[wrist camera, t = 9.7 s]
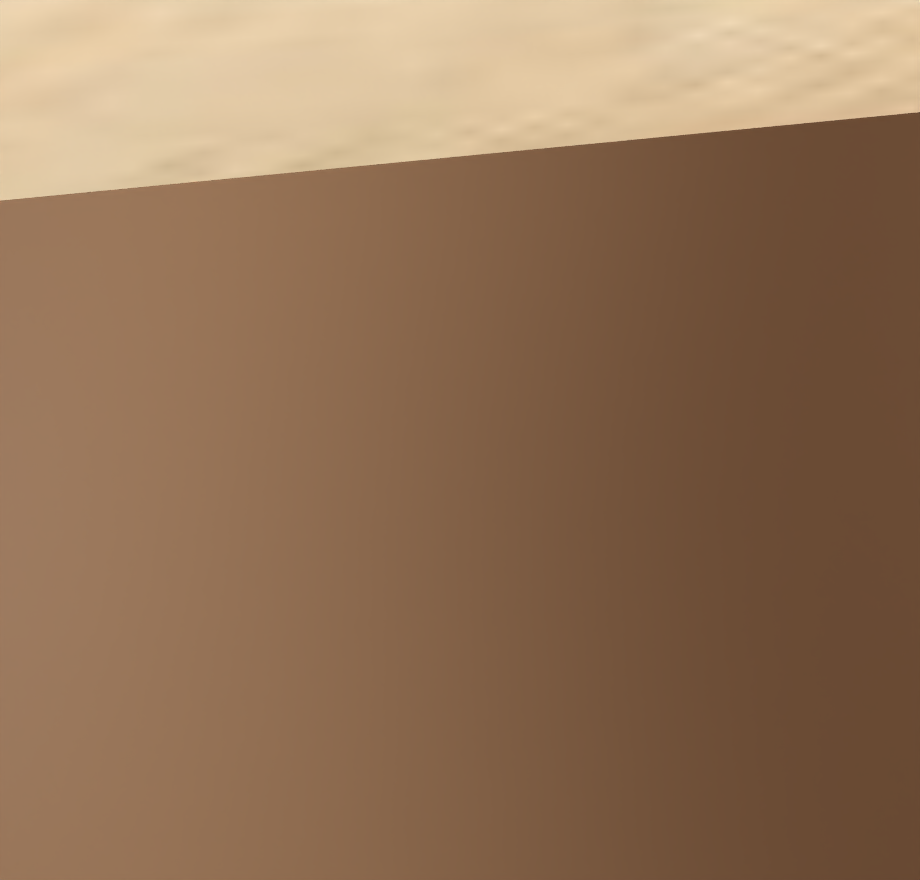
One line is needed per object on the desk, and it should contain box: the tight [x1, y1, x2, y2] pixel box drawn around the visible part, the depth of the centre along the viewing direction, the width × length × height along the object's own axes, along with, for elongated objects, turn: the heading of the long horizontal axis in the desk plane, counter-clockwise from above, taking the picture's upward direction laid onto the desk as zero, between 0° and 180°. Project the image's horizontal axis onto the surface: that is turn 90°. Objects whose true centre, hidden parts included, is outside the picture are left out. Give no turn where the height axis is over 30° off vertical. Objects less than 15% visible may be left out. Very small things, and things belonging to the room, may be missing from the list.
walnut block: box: [0, 112, 920, 880], centre depth 8 cm, size 4×4×10 cm
